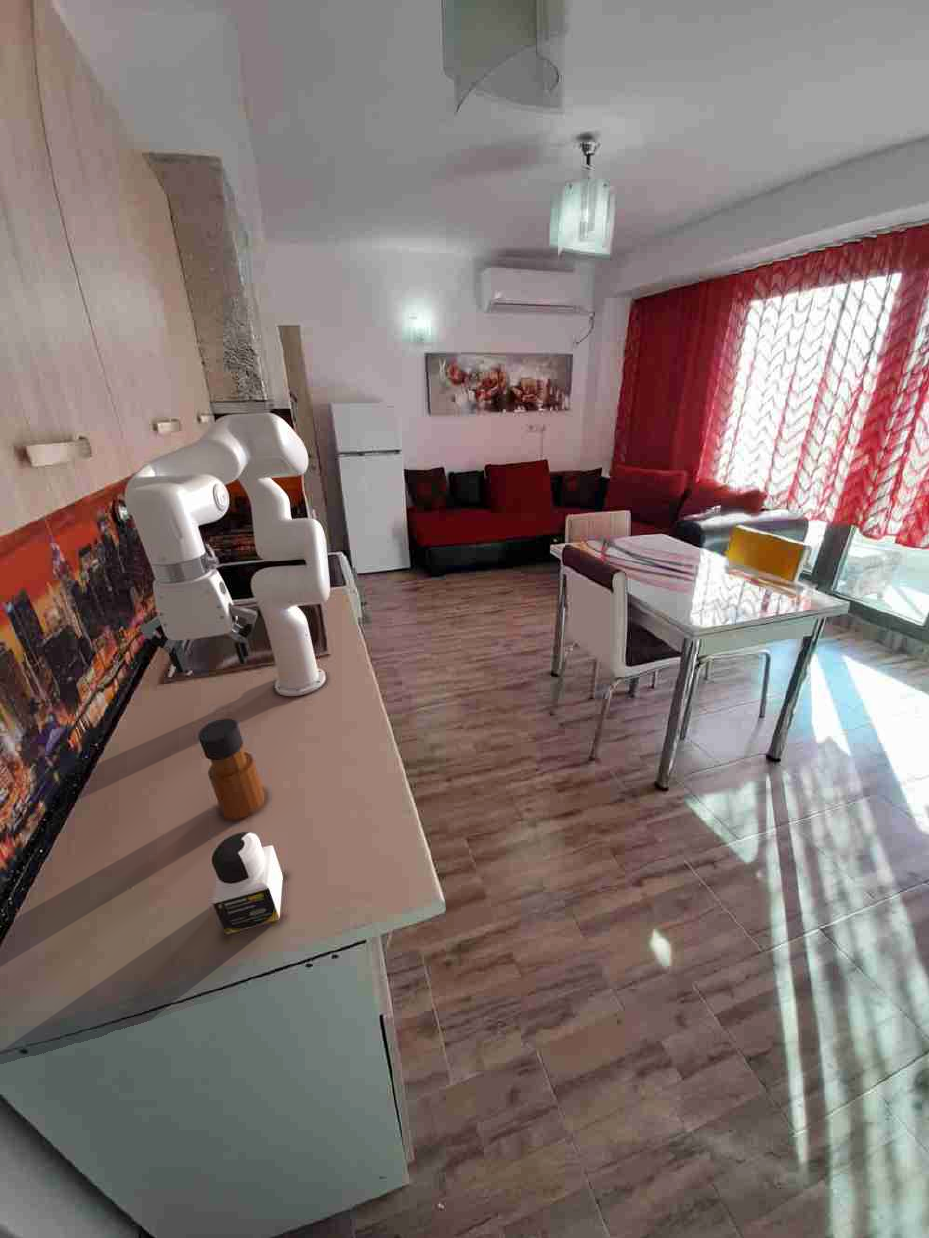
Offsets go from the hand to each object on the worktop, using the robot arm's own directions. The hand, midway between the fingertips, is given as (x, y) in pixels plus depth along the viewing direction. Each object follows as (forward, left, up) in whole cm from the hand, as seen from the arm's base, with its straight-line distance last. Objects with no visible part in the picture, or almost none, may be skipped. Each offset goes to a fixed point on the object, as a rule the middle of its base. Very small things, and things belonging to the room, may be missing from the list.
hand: (214, 664), depth 79 cm
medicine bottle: (+26, +5, -27) cm, 38 cm away
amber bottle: (+5, -1, -27) cm, 27 cm away
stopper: (+5, -1, -17) cm, 18 cm away
